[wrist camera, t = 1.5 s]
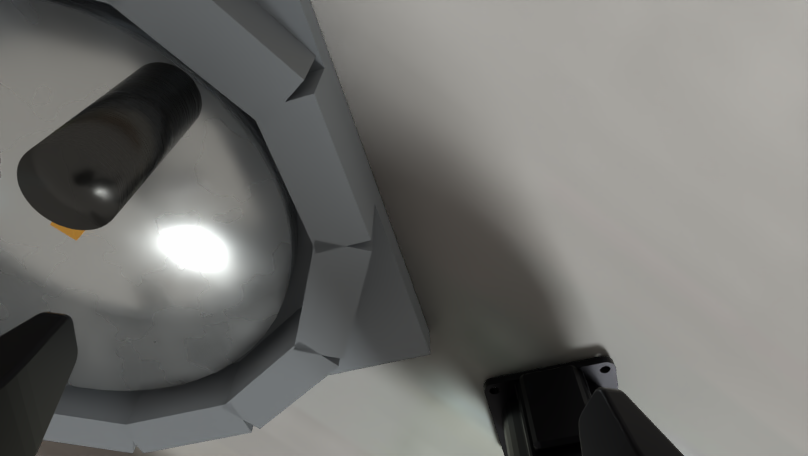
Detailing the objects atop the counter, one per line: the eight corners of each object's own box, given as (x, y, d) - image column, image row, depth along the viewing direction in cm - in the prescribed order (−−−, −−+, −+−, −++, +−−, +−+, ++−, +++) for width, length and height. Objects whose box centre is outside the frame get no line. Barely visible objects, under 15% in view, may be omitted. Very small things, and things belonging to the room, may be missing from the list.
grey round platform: (429, 331, 27) (432, 403, 23) (36, 414, 30) (-14, 488, 27) (225, -235, 16) (170, -266, 12) (-366, 0, 19) (-548, 31, 15)
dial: (160, 416, 28) (88, 573, 22) (-217, 220, 22) (-468, 360, 16) (385, 210, 21) (376, 350, 15) (-62, -153, 15) (-386, -168, 9)
